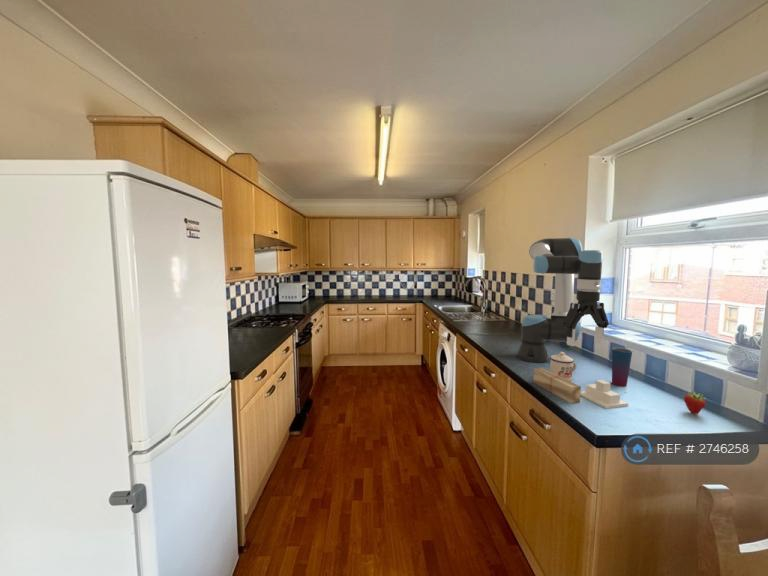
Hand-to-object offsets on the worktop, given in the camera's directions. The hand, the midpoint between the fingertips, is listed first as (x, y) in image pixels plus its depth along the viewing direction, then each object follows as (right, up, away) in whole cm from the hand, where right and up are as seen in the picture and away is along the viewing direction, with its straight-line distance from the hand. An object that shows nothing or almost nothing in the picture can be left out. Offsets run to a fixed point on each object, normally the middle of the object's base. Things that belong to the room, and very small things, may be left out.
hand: (584, 344), depth 121 cm
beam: (-10, -19, +3) cm, 22 cm away
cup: (+22, -19, +11) cm, 31 cm away
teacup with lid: (+2, -18, +18) cm, 25 cm away
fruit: (+29, -22, -14) cm, 38 cm away
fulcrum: (+4, -20, -4) cm, 21 cm away
